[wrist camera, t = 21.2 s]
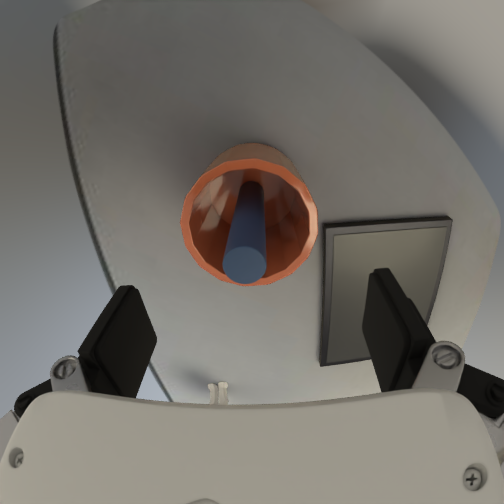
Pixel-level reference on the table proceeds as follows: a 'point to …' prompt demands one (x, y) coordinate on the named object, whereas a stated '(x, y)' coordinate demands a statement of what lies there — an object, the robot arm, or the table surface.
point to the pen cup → (275, 207)
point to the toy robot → (222, 393)
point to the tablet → (363, 263)
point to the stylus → (247, 237)
